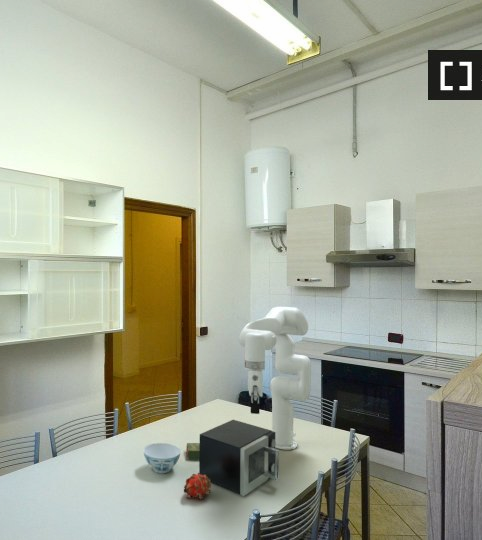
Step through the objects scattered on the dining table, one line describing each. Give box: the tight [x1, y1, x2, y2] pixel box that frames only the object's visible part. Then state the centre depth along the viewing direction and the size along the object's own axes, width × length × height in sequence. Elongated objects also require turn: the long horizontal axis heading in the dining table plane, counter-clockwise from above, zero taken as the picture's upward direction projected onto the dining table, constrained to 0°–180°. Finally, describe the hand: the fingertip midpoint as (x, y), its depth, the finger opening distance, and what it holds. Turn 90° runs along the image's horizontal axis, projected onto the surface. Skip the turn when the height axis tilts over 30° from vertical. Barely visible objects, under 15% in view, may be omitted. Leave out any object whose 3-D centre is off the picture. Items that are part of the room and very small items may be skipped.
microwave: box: [198, 419, 276, 496], centre depth 168 cm, size 20×24×17 cm
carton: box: [185, 442, 200, 461], centre depth 187 cm, size 8×16×4 cm, turn 89°
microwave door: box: [239, 435, 280, 497], centre depth 158 cm, size 7×18×17 cm, turn 136°
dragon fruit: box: [183, 472, 212, 500], centre depth 153 cm, size 8×8×12 cm
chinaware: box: [143, 442, 182, 474], centre depth 174 cm, size 15×15×8 cm
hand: (254, 409), depth 165 cm, fingers open, 9 cm apart
